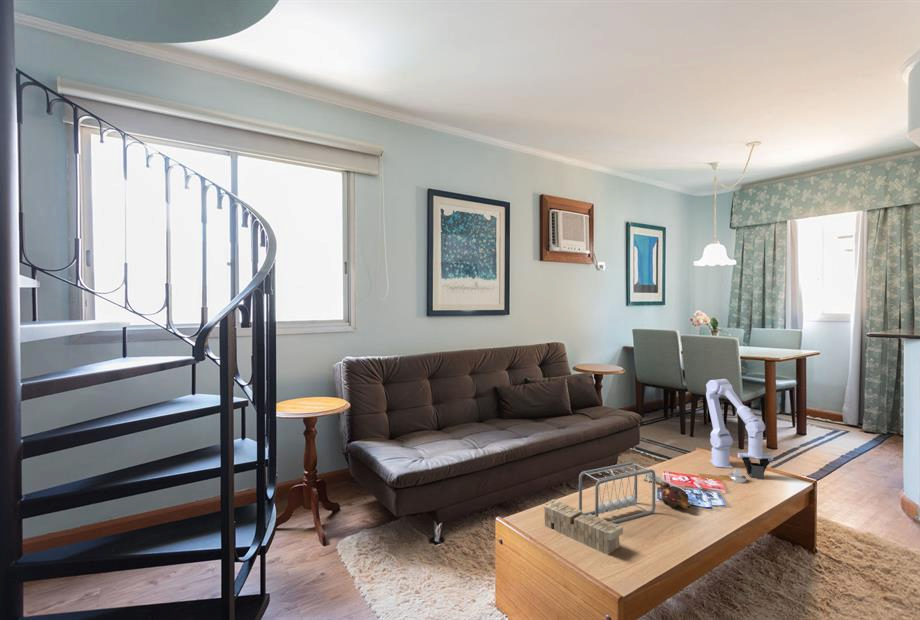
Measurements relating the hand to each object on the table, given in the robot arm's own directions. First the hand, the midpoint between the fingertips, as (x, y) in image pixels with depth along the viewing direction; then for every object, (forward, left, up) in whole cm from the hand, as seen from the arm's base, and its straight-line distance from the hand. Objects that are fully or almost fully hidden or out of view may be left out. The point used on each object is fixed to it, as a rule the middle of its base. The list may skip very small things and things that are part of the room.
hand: (755, 473), depth 213 cm
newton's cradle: (+53, -70, -2) cm, 88 cm away
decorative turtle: (+40, -46, -2) cm, 61 cm away
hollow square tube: (0, 0, -2) cm, 2 cm away
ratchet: (+6, -17, -2) cm, 18 cm away
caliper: (+21, -45, -2) cm, 50 cm away
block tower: (+72, -86, -2) cm, 112 cm away
